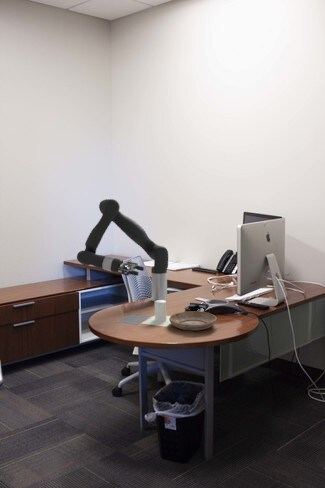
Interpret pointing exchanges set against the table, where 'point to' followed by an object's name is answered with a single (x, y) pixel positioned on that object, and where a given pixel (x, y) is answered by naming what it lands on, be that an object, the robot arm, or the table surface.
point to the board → (152, 322)
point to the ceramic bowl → (193, 320)
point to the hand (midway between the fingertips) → (141, 271)
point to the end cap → (198, 307)
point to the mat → (133, 319)
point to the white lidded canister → (160, 311)
